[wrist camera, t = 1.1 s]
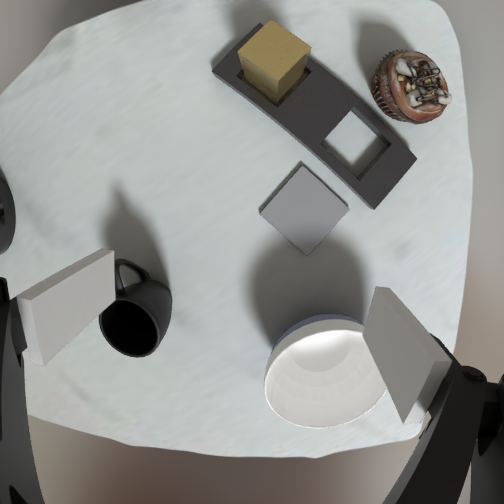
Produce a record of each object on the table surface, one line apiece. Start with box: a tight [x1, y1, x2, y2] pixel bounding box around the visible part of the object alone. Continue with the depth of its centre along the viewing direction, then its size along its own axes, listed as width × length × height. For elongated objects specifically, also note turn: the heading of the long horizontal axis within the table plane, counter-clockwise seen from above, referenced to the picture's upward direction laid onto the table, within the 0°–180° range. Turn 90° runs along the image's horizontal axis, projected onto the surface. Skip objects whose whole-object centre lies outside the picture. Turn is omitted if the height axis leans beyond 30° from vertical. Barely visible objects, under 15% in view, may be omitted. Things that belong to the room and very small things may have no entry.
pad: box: [260, 166, 350, 256], centre depth 38 cm, size 8×8×1 cm
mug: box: [99, 259, 172, 358], centre depth 38 cm, size 8×12×10 cm
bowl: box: [264, 314, 387, 428], centre depth 38 cm, size 16×16×10 cm
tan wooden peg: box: [238, 20, 312, 103], centre depth 29 cm, size 5×5×10 cm
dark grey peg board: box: [212, 23, 417, 210], centre depth 34 cm, size 26×9×2 cm, turn 50°
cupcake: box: [371, 49, 452, 124], centre depth 29 cm, size 10×10×10 cm
